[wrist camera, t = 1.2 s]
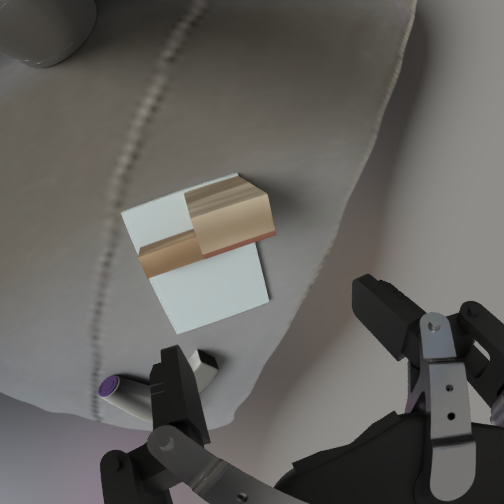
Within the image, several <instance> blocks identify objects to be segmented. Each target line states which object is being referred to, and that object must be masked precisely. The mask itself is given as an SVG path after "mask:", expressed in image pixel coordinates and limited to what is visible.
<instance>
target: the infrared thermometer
mask: <svg viewBox="0 0 504 504" xmlns="http://www.w3.org/2000/svg"><path fill="white" fill-rule="evenodd" d="M187 361H188V362H189V364H190V366H191V368H192V370H193V372H194V375H195V378H196V383H197V387H198V392H199V393H200V392H201V391H202V390H203V389H204V388H205V387H206V386H207V385H208V384H209V383H210V382H211V381H212V380H213V378H214V377H215V376H216V374H217V372H218V365H217V363H216V360H215V358H214V357H212V356H210V355H208V354H206V353H204V352H202V351H200V350H198V349H196V351H195V353H194V354H193V355H192V356H191V357H190V358H189V359H187ZM150 387H151V386H150V385H146V384H142V383H139V382H135V381H132V380H128V379H125V378H122V377H118V376H110V377H108V378H107V379H105V380H104V381H103V382H102V383H101V385H100V387H99V389H98V394H99V396H100V397H101V398H102V399H104V400H106V401H108V402H109V403H111V404H113V405H115V406H117V407H118V408H120V409H122V410H124V411H126V412H128V413H129V414H131V415H133V416H135V417H137V418H140V419H142V420H145V421H148V422H151V423H153V418H152V407H151V392H150Z"/></svg>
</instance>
